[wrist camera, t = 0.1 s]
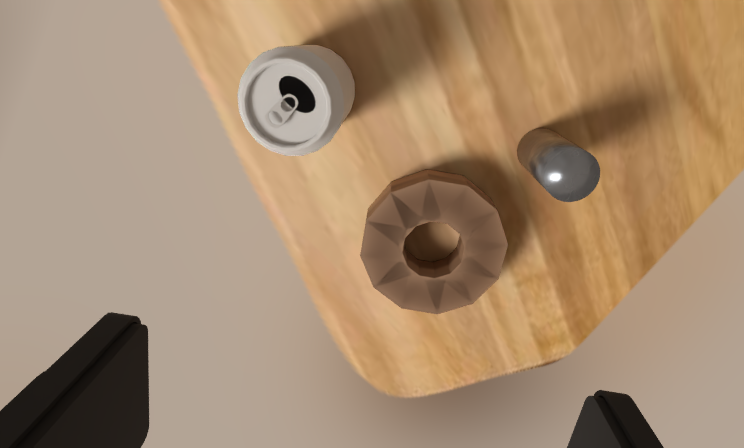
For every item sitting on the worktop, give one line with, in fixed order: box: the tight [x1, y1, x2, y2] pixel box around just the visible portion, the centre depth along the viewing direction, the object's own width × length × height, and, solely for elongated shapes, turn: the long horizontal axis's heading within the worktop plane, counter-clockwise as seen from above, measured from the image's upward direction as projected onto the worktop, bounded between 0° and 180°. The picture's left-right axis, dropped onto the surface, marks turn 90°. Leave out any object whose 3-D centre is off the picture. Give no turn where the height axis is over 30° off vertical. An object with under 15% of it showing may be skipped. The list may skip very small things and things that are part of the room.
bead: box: [360, 169, 508, 314], centre depth 47 cm, size 13×13×4 cm
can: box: [238, 45, 355, 156], centre depth 38 cm, size 8×8×12 cm
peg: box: [517, 128, 600, 202], centre depth 41 cm, size 4×4×9 cm
